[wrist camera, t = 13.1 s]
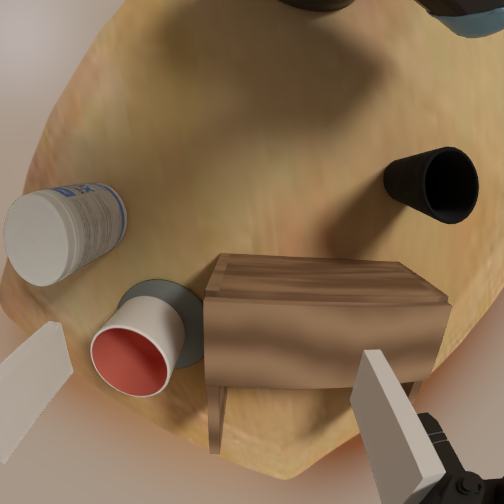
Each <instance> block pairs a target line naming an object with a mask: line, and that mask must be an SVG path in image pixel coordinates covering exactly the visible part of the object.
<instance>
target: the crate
mask: <svg viewBox="0 0 504 504" xmlns="http://www.w3.org/2000/svg"><path fill="white" fill-rule="evenodd" d="M447 301H448V296H447V295H446V294H444V293H443V292H442V291H440V290H439V289H437V288H436V287H435V286H433V285H432V284H430V283H429V282H427V281H426V280H425V279H423V278H422V277H420V276H419V275H417V274H416V273H414V272H413V271H412V270H410V269H409V268H407V267H406V266H404V265H403V264H401V263H400V262H387V261H366V260H346V259H325V258H305V257H285V256H265V255H245V254H225V253H221V254H220V256H219V259H218V261H217V263H216V266H215V268H214V270H213V273H212V275H211V277H210V280H209V282H208V285H207V287H206V289H205V298H204V301H203V315H204V366H205V385H207V407H208V429H209V447H210V454H220V447H221V439H222V431H223V422H224V414H225V406H226V398H227V386H228V387H245V388H272V389H319V388H346V387H354V383H355V380H356V376H357V373H358V369H359V366H360V362H361V358H362V354H363V350H381V351H382V353H383V355H384V357H385V358H386V360H387V362H388V364H389V365H390V367H391V369H392V371H393V372H394V374H395V376H396V378H397V379H398V381H399V383H400V385H401V386H402V388H403V390H404V392H405V394H406V396H407V397H408V399H409V401H410V403H411V405H412V406H413V404H414V401H415V399H416V397H417V394H418V392H419V389H420V386H421V384H422V381H423V380H428V379H429V377H430V374H431V372H432V369H433V366H434V363H435V360H436V358H437V355H438V352H439V349H440V346H441V342H442V339H443V336H444V333H445V329H446V326H447V322H448V319H449V315H450V311H451V308H452V305H451V304H449V303H448V302H447Z"/></svg>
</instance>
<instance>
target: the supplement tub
mask: <svg viewBox="0 0 504 504" xmlns="http://www.w3.org/2000/svg"><path fill="white" fill-rule="evenodd" d="M126 227H127V212H126V208H125V205H124V202H123V200H122V199H121V197H120V196H119V194H118V193H117V192H116V191H115V190H114V189H112V188H111V187H109V186H108V185H105V184H102V183H88V184H80V185H72V186H65V187H58V188H51V189H44V190H39V191H34V192H31V193H29V194H26V195H23V196H21V197H19V198H18V199H17V200H16V201H15V202H14V203H13V204H12V206H11V207H10V209H9V211H8V213H7V216H6V219H5V224H4V243H5V248H6V252H7V255H8V258H9V260H10V262H11V264H12V266H13V268H14V269H15V270H16V272H17V273H18V274H19V275H20V276H21V277H22V278H23V279H24V280H25V281H27V282H28V283H30V284H32V285H35V286H40V287H45V286H49V285H52V284H54V283H56V282H59V281H61V280H63V279H64V278H66V277H68V276H69V275H71V274H72V273H74V272H76V271H77V270H79V269H80V268H82V267H84V266H85V265H87V264H89V263H90V262H92V261H94V260H95V259H97V258H98V257H100V256H102V255H104V254H105V253H107V252H109V251H110V250H112V249H113V248H115V247H116V246H117V245H118V243H119V242H120V241H121V240H122V238H123V236H124V234H125V231H126Z"/></svg>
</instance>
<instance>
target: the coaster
mask: <svg viewBox="0 0 504 504" xmlns="http://www.w3.org/2000/svg"><path fill="white" fill-rule="evenodd" d="M138 296H151V297H155V298H158V299H161V300H163V301H164V302H166V303H168V304H169V305H170V306H171V307H173V308H174V310H175V311H176V312H177V313H178V314H179V316H180V318H181V320H182V322H183V325H184V329H185V340H184V344H183V347H182V349H181V352H180V354H179V357H178V359H177V362H176V364H175V367H174V369H179V368H184V367H187V366H190V365H192V364H194V363H195V362H197V361H198V360H199V359H201V358H202V357H203V355H204V315H203V303H202V302H201V300H200V299H199V298H198V297H197V296H196V295H195V294H194V293H192V292H191V291H190V290H188V289H187V288H185V287H184V286H182V285H180V284H177V283H175V282H172V281H168V280H161V279H153V280H147V281H143V282H141V283H138V284H136V285H135V286H133V287H132V288H131V289H129V290H128V291H127V292H126V293H125V295H124V296H123V297H122V299H121V301H120V303H119V306H118V309H119V308H120V307H121V306H122V305H123V304H124V303H125V302H127V301H128V300H130V299H132V298H134V297H138Z"/></svg>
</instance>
